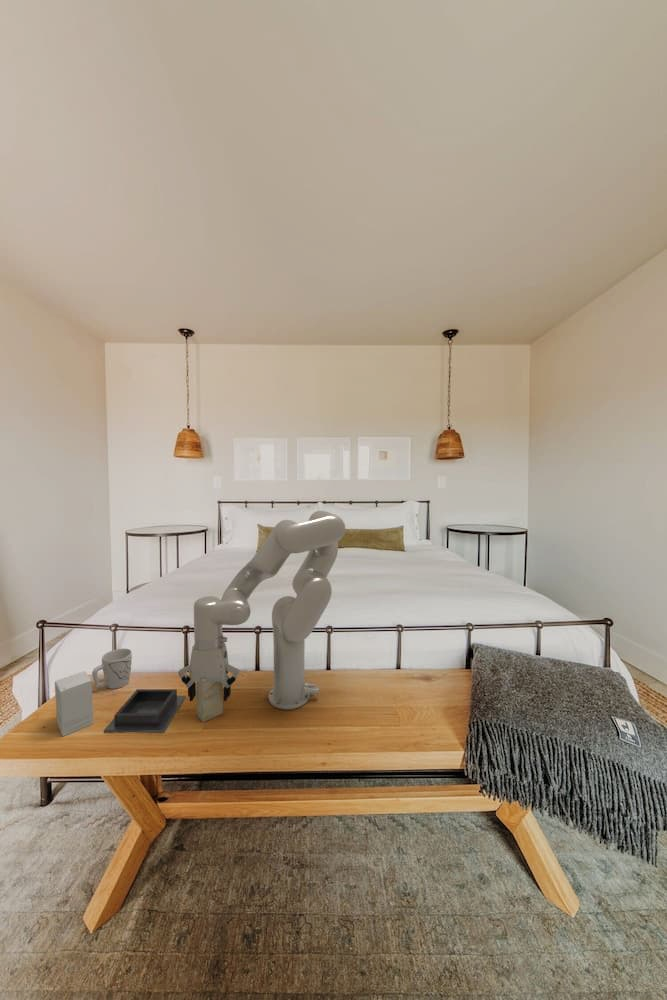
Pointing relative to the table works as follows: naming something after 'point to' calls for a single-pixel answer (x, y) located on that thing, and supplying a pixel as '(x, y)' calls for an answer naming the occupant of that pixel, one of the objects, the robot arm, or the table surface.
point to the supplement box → (74, 703)
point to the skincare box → (209, 699)
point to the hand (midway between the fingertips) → (209, 698)
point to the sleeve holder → (147, 711)
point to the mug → (114, 668)
